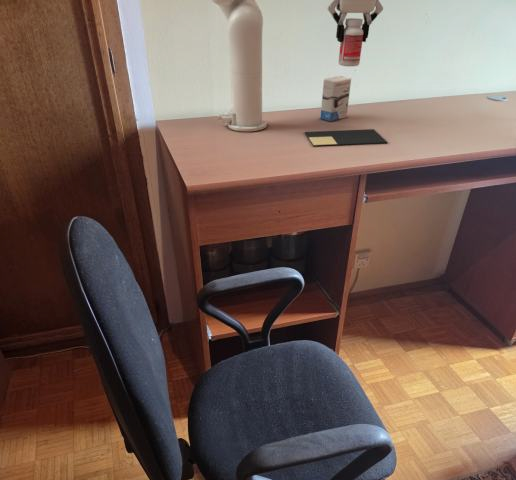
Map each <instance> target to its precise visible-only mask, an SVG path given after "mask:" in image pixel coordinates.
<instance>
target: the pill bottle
mask: <svg viewBox="0 0 516 480" xmlns="http://www.w3.org/2000/svg"><path fill="white" fill-rule="evenodd" d="M344 22H345V23H344V34H343V42H340V46H339V53H338V65H339V66H343V67H358V66H359V65H360V61H361V55H362V46H363V30H362V25H363V22H364V18H351V17H350V18H349V17H348V18H345V21H344Z"/></svg>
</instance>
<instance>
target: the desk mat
mask: <svg viewBox="0 0 516 480" xmlns="http://www.w3.org/2000/svg"><path fill="white" fill-rule="evenodd" d="M304 134H305V136H306V138H307V140H308V141H309V143H311V145H312V147H338V146H339V147H340V146H361V145H364V146H365V145H383V144H384V145H385V144H388V141H387V140H386V139H385V138H384V137H383V136H381V134H380V133H378V132H377V131H376V129H373V128H369V129H367V128H365V129H345V130H342V129H341V130H320V131H319V130H318V131H317V130H316V131H304Z"/></svg>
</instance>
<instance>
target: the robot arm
mask: <svg viewBox="0 0 516 480" xmlns="http://www.w3.org/2000/svg"><path fill="white" fill-rule="evenodd" d="M211 1H212V2H213V3H214V4H216V5H218V7H219V8H220V9H221V12H222V13H223V15H224V16H225V18H226V20H227V21H228V23H227V34H228V35H227V36H228V48H229V67H230V90H231V109H230V111H227V112H225V113H224V112H221V113H220V112H218V113H217V120H218V121H222V122H227V128H228V129H230V130H233V131H236V132H245V133H246V132H247V133H248V132H249V133H250V132H258V131H262V130H264V129H266V128H267V126H268V122H267V120H265V119H263V26H264V17H263V13H262V10H261V9H260V7H259V4H258V3H257V1H256V0H211ZM383 10H384V7H383V5H382V3H381V2H380V0H333V1H332V2H331V3H330V4H329V5H328V6H327V11H328V12H329V14H330V15H331V17H332V18H333V20H334V22H335V24H337V25H336V34H335V38H336V41H337V42H339V43H341V42H343V34H344V28H345V24H344V22H345V20H346V17H347V15H348V14H362V17H363V23H362V26H361V29H362V30H363V41H362V43H366V42H367V39H368V38H369V32H370V26H371V25H372V23H373V22H374V21H375V19H377V17H378V16H379V15H380V14H381V13H382V11H383ZM337 11H338V12H339V13H338V12H337Z"/></svg>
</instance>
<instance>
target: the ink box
mask: <svg viewBox="0 0 516 480" xmlns="http://www.w3.org/2000/svg"><path fill="white" fill-rule="evenodd" d="M351 84H352V78H351V77H347V76H343V75H338V76H332V77H326V78H324V79H323V84H322V85H323V86H322V97H321V105H320V106H321V107H320V120H324V121H329V122H333V121H334V122H335V121H337V120H341V119H344V118H347V117H348V109H349V100H350V91H351Z"/></svg>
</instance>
